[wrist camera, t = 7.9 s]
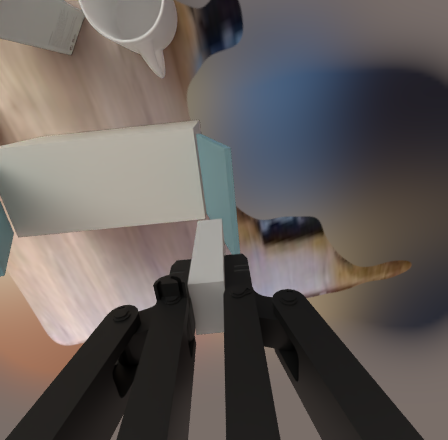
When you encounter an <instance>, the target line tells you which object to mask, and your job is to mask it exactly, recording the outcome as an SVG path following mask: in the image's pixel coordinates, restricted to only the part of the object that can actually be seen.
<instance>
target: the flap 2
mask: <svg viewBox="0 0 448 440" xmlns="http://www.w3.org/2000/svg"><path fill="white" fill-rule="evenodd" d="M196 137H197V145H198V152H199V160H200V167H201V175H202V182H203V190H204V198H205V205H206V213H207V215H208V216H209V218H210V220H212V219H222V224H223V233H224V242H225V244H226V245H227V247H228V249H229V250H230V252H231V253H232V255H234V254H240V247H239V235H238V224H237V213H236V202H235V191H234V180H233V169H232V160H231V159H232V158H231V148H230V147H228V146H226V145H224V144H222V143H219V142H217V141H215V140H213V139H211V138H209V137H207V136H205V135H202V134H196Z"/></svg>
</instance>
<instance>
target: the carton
mask: <svg viewBox="0 0 448 440" xmlns="http://www.w3.org/2000/svg"><path fill="white" fill-rule="evenodd" d="M196 134H201V127H200V120H193V121H182V122H173V123H164V124H154V125H145V126H136V127H126V128H117V129H108V130H98V131H89V132H80V133H70V134H61V135H52V136H42V137H37V138H33V139H29V140H24V141H20V142H16V143H11V144H7V145H3V146H0V195H1V198H2V200H3V202H4V205H5V207H6V210H7V212H8V214H9V217H10V219H11V221H12V224H13V226H14V229H15V231H16V233H17V236H18V237H28V236H38V235H48V234H58V233H68V232H78V231H89V230H99V229H109V228H119V227H129V226H139V225H149V224H160V223H170V222H180V221H190V220H200V219H205V218H206V205H205V198H204V190H203V182H202V175H201V167H200V160H199V152H198V145H197V137H196Z"/></svg>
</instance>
